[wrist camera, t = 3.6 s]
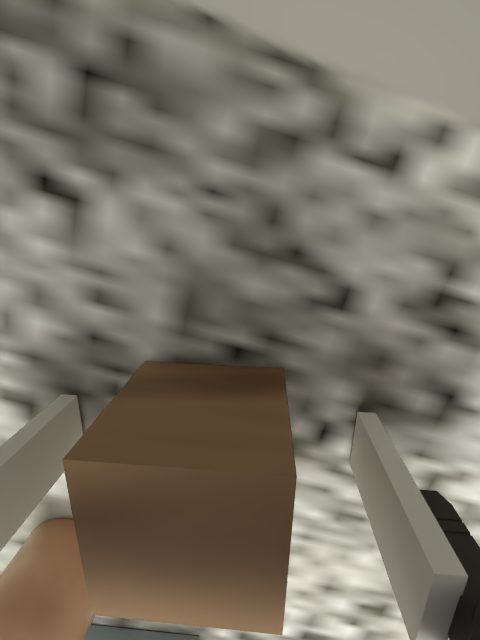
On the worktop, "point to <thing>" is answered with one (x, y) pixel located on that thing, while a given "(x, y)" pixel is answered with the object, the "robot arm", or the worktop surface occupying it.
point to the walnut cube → (188, 498)
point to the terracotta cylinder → (45, 587)
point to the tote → (131, 634)
